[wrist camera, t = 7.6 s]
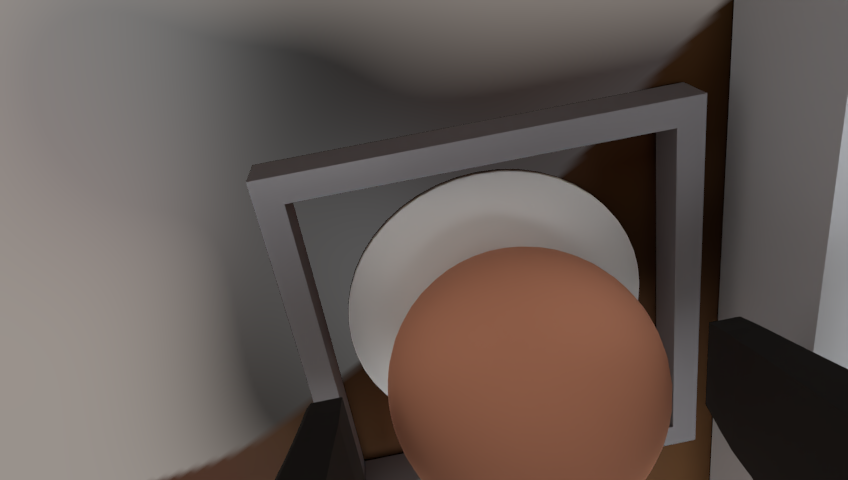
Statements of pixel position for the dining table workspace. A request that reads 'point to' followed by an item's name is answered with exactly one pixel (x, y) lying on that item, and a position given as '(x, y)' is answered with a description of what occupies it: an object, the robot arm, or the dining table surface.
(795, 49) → the acrylic wall
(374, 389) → the dining table surface
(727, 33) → the dining table surface
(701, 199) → the grey square frame
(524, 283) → the ball
